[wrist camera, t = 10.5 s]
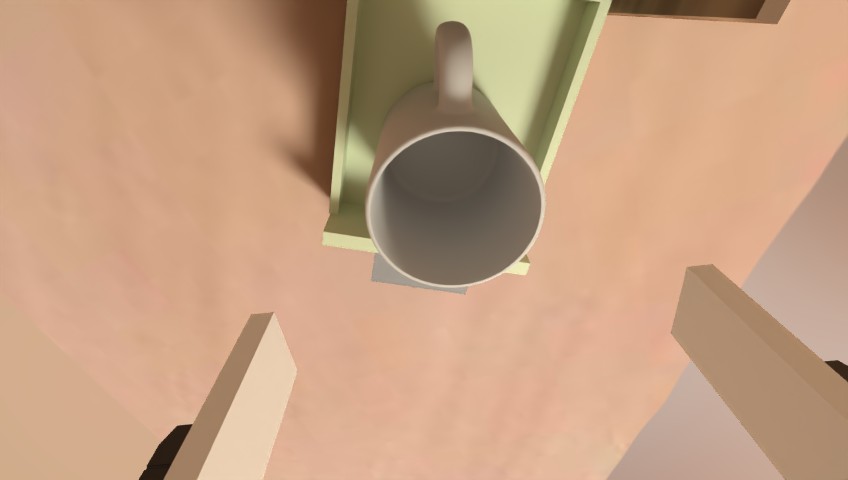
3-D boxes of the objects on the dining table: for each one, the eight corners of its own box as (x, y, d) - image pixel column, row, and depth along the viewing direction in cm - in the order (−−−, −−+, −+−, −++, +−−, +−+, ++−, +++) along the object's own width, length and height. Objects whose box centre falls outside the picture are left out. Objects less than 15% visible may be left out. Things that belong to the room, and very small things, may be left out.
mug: (497, 200, 30) (535, 289, 21) (383, 201, 30) (369, 292, 21) (514, 16, 24) (579, 24, 15) (371, 17, 24) (344, 26, 15)
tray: (331, 241, 33) (318, 281, 28) (359, -64, 23) (345, -81, 18) (500, 267, 34) (514, 308, 30) (595, -7, 24) (638, -10, 20)
